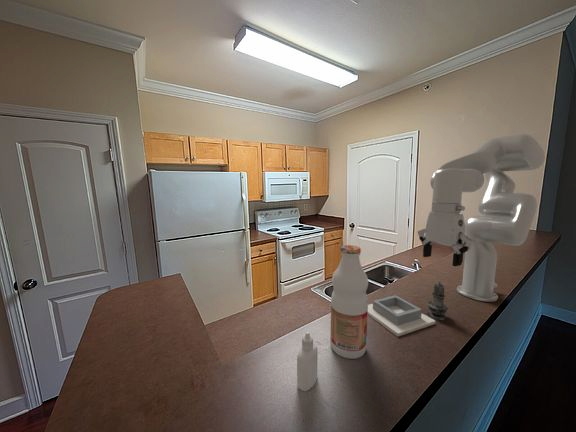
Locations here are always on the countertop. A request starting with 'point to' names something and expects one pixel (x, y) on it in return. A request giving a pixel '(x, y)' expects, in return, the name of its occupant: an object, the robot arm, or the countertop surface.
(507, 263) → the countertop surface
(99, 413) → the countertop surface
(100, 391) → the countertop surface
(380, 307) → the socket
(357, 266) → the fruit juice
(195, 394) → the countertop surface
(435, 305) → the stone chess piece
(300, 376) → the eye dropper bottle
